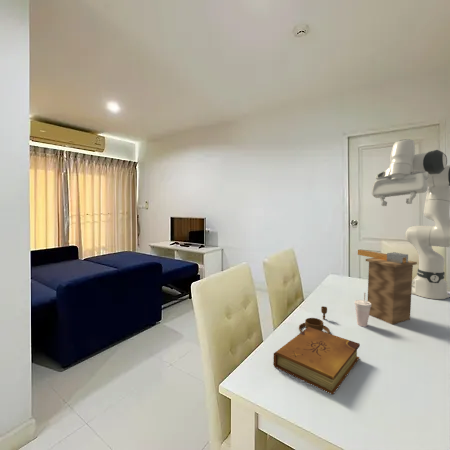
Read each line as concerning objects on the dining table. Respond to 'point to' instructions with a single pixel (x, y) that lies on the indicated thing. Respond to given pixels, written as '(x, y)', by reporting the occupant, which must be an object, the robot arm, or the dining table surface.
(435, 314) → the dining table surface
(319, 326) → the place setting
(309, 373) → the diary
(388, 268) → the stand
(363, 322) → the smoothie
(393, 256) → the mallet
